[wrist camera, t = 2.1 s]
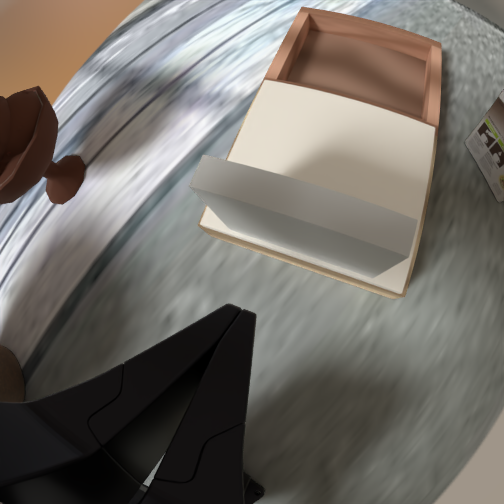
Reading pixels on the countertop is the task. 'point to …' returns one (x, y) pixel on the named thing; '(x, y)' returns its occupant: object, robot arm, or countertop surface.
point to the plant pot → (10, 378)
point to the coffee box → (490, 147)
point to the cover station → (357, 88)
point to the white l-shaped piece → (323, 183)
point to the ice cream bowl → (33, 149)
